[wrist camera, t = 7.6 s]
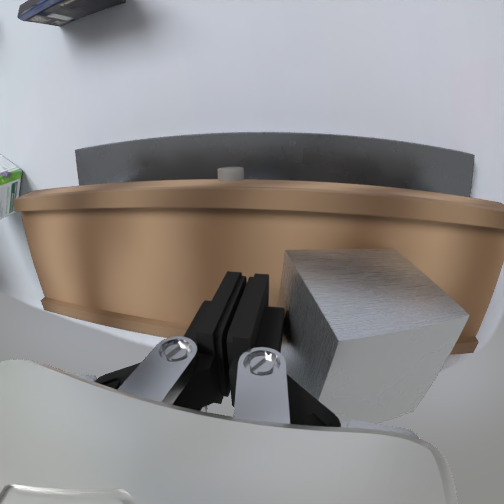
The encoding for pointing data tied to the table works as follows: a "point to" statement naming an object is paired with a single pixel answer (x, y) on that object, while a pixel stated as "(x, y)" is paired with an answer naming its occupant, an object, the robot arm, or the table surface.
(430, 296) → the steel cube
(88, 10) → the mini dv tape
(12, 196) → the syrup box
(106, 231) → the beam
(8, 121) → the table surface
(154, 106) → the table surface
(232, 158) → the pivot stand
